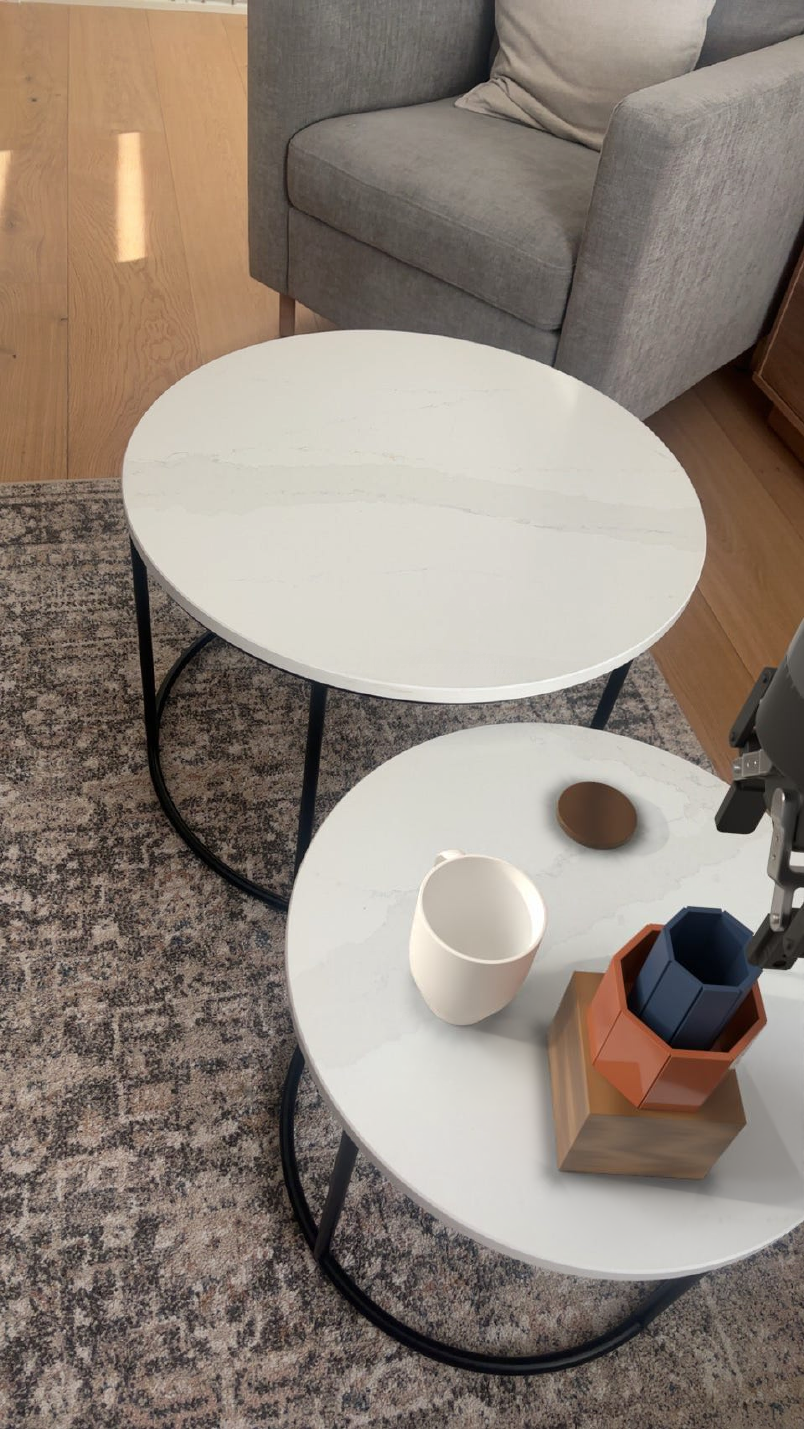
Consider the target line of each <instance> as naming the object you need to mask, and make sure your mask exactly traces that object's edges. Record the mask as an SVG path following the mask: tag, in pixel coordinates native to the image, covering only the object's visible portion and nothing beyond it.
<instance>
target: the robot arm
mask: <svg viewBox="0 0 804 1429" xmlns="http://www.w3.org/2000/svg"><path fill="white" fill-rule="evenodd" d="M728 745H729V747H730V748H732V749H738V757H735V758H734V759H733V761H732V764H731V769H730V770H731V777H732V779H733V780H732V781H731V784H730V786H729V788H728V790H727V792H726V793H725V796H724V798H723V800H722V801H721V804H720V806H719V807H718V809H717V811H716V813H715V816H714V823H715V828H716V831H717V832H719V833H722V834H723V833H724V834H733V835H750V834H753V833H754V832H755V831H756V829H757V828H758V826H759V824H760V822H761V820H762V819H763V817H764V815H765V814H766V812H767V811H768V812H769V814H770V815H769V816H770V818H771V824H772V833H771V841H770V847H769V854H768V860H767V866H766V874H767V876H768V877H769V878H770V879H771V880H772V881H773V882H774V886H773V891H772V892H773V893H772V899H771V905H770V911H769V912H768V913H767V914H766V916H765V918H764V919H763V920H762V922H761V923H760V925H759V927H758V928H757V930H756V932H754V935H753V938H752V939H751V941H750V943H749V944H748V946H747V947H746V949H745V952H746V956H747V960H748V963H749V964H750V965H752V966H759V968H760V969H763V970H772V971H773V970H774V971H789V970H791V969H792V968H793V966H794V965H795V964H796V962H797V961H798V959H804V901H803V902H802V904H801V905H800V907H793V903H794V896H795V892H796V890H798V889H804V866H803V865H792V864H791V863H790V862H791V858H792V857H791V856H792V853H798V854H799V853H800V854H804V617H803V618H802V620H801V622H800V623H799V626H798V628H797V630H796V632H795V633H794V635H793V637H792V640H791V642H790V643H789V646H788V648H787V650H786V651H785V654H784V655H783V657H782V660H781V662H780V664H779V665H778V667H774V666H773V667H772V666H765V667H763V668H762V671H761V672H760V674H759V676H758V678H757V679H756V682H755V683H754V685H753V687H752V689H751V691H750V692H749V695H748V697H747V698H746V700H745V702H744V704H743V706H742V707H741V709H740V711H739V713H738V715H737V717H736V719H735V720H734V722H733V724H732V726H731V728H730V730H729V734H728Z"/></svg>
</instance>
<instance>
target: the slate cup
mask: <svg viewBox="0 0 804 1429" xmlns="http://www.w3.org/2000/svg"><path fill="white" fill-rule="evenodd" d="M663 925H664V927H663V928H662V930H661V932H660V934H659V936H658V938H657V940H656V942H655V944H654V946H653V948H652V950H651V952H650V954H649V956H648V958H647V960H646V962H645V964H644V965H643V967H642V969H641V971H640V973H639V975H638V977H637V979H636V981H635V983H634V985H633V987H632V989H631V991H630V993H629V995H628V997H627V999H626V1002H627V1009H628V1010H629V1011H630V1012H631V1013H632V1014H633V1015H635V1016H636V1017H637V1018H638V1019H639V1020H640V1021H641V1022H643V1023H644V1024H645V1025H646V1026H647V1027H648V1028H649V1029H651V1030H652V1031H653V1032H654V1033H655V1034H656V1035H657V1036H658V1037H660V1038H661V1039H662V1040H663V1041H664V1042H665V1043H666V1044H668V1045H669V1046H670V1047H671V1048H672V1049H680V1050H695V1051H710V1050H711V1048H712V1047H713V1045H714V1044H715V1042H716V1041H717V1039H718V1038H719V1036H720V1035H721V1033H722V1032H723V1030H724V1029H725V1027H726V1026H727V1024H728V1023H729V1021H730V1020H731V1018H732V1017H733V1015H734V1014H735V1012H736V1011H737V1009H738V1008H739V1006H740V1005H741V1003H742V1002H743V1000H744V999H745V998H746V996H747V995H748V993H749V992H750V990H751V989H752V987H753V986H754V984H755V983H756V981H757V980H758V981H759V979H760V977H761V975H762V974H763V972H764V969H760V968H759V966H752V965H750V964H749V963H748V960H747V956H746V952H745V949H746V947H747V946H748V944H749V943H750V941H751V939H752V938H753V936H754V935H755V932H754V931H752V930H751V929H750V928H749V927H748V926H746V925H745V924H744V923H742V922H741V921H740V920H739V919H737V918H736V917H734V916H733V915H732V914H731V913H730V912H728V911H727V910H726V909H724V910H722V908H720V907H719V908H718V907H709V906H708V907H705V906H695V905H694V906H693V905H687V906H686V907H685V906H684V907H682V908H681V909H680V910H679V911H678V912H677V913H676V914H675V915H673V917H672V918H671V919H669V920H668V921H667V922H666V923H665V924H663Z"/></svg>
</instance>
